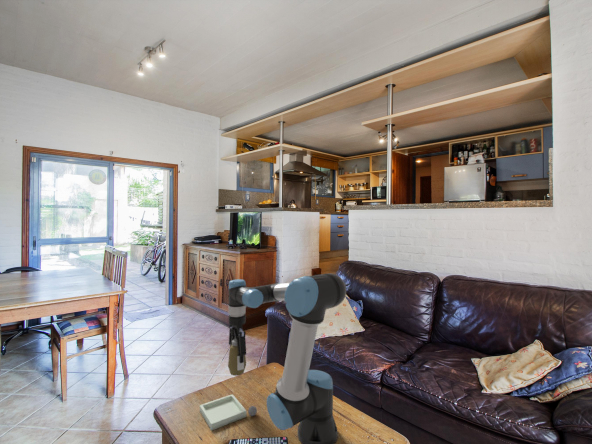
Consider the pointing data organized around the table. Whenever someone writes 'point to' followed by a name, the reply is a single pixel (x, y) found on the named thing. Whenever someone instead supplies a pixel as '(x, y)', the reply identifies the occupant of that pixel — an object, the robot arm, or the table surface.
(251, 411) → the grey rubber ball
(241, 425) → the table surface
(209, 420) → the tray
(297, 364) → the robot arm
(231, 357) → the squeeze bottle
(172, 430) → the table surface
